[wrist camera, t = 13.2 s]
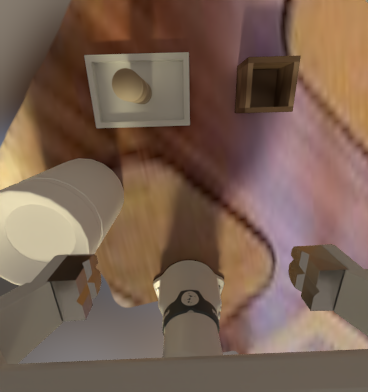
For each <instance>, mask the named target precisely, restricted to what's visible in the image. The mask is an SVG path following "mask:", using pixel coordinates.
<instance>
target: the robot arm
mask: <svg viewBox="0 0 368 392" xmlns="http://www.w3.org/2000/svg"><path fill="white" fill-rule="evenodd" d="M291 256H292V257H293V259H294V260H293V261H292V262H291V263H290V264H289V276H290V280H291V282H292V284H293V285H294V287H295V288H296V289H298V290H299V291H301V292H302V293H301V297H302V299H303V300H304V302H305V303H306V305H307V306H308V308H309V309H310V311H334V312H335V313H336V314H338V315H339V316H341V317H342V318H343V319H345V320H346V321H347V322H349V323H350V324H352V325H353V326H354V327H356V328H357V329H359V330H360V331H361V332H363V333H364V334H365V335H367V336H368V269H363V268H362V267H361V266H359V265H358V264H357V263H356V262H354V261H353V260H352V259H351V258H350V257H348V256H347V255H346V254H345V253H343V252H342V251H341V250H340V249H339V248H337V247H336V246H335V245H332V244H325V245H314V246H295V247H293V249H292V252H291ZM97 264H98V260H97V256H96V255H95V254H70V255H69V254H64V255H56V256H54V257H53V258H52V260H51V261H50V262H49V263H48V264H47V265H46V266H45V267H44V268H43V270H42V271H41V272H40V273H39V274H38V275H37V276H36V277H35V278H34V279H33V281H32V282H31V283H25V284H23V285H21V286H19V287H17V288H16V289H14V290H12V291H10V292H8V293H6V294H4V295H2V296H1V297H0V392H368V349H358V350H334V351H311V352H287V353H263V354H239V355H223V353H222V349H221V344H220V339H219V319H220V311H221V305H222V303H221V292H222V289H223V286H224V279H223V278H222V277H220V276H218V275H216V274H215V273H214V272H213V271H212V270H211V269H210V268H209V267H208V266H207V265H205V264H204V263H201V262H198V261H193V260H185V261H180V262H177V263H175V264H173V265H171V266H170V267H169V268H168V269H167V270H166V271H165V272H164V274H163V275H162V276H160V277H159V278H157V279H156V280H154V282H153V286H154V289H155V292H156V295H157V297H158V307H159V308H160V311H161V313H162V315H163V324H162V326H163V335H164V347H163V358H145V359H121V360H97V361H77V362H76V361H74V362H50V363H28V364H26V363H25V364H18V363H19V362H20V361H21V360H22V359H23V358H25V356H27V355H28V354H29V353H30V352H31V351H32V350H33V349H34V348H35V347H36V346H37V345H39V344H40V343H41V342H42V341H43V340H44V339H45V338H46V337H47V336H49V335H50V334H51V333H52V332H53V331H54V330H55V329H56V328H57V327H58V326H59V325H61V324H62V322H63V321H76V320H86V318H87V316H88V314H89V312H90V310H91V308H92V305H93V304H92V299H93V298H95V297H96V296H97V294H98V292H99V290H100V285H101V274H100V271H99V270H98V269H97V268H96V266H97Z"/></svg>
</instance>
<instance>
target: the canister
mask: <svg viewBox="0 0 368 392" xmlns="http://www.w3.org/2000/svg"><path fill="white" fill-rule="evenodd" d="M123 203H124V190H123V187H122V184H121V182H120V180H119V178H118V177H117V176H116V174H115V173H114V172H113V171H112V170H111V169H110V168H108V167H107V166H106V165H104V164H103V163H100V162H98V161H95V160H93V159H84V158H78V159H74V160H70V161H67V162H65V163H62V164H60V165H58V166H55V167H53V168H51V169H48V170H46V171H44V172H41V173H39V174H37V175H35V176H32V177H30V178H28V179H25V180H23V181H21V182H19V183H17V184H14V185H11V186H9V187H7V188H4V189H2V190H0V277H2V278H4V279H6V280H8V281H9V282H12V283H13V284H16V285H20V286H21V285H23V284H25V283H31V282H32V281H33V279H34V278H35V277H36V276H37V275H38V274H39V273H40V272H41V271H42V270H43V268H44V267H45V266H46V265H47V264H48V263H49V262H50V261H51V260H52V258H53V257H54V256H56V255H64V254H69V255H70V254H95V252H96V249H97V248H98V247H99V245H100V244H101V242H102V241H103V239H104V237H105V236H106V234H107V232H108V231H109V229H110V227H111V226H112V224H113V222H114V221H115V219H116V217H117V216H118V214H119V213H120V211H121V209H122V206H123Z"/></svg>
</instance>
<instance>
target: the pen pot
mask: <svg viewBox="0 0 368 392" xmlns="http://www.w3.org/2000/svg"><path fill="white" fill-rule="evenodd" d="M299 63H300V56H273V57H248V58H247V59H246V60H245V61H243V62H242V63H241V64H240V65H238V66H237V84H236V102H235V113H259V112H292V111H293V104H294V97H295V91H296V84H297V77H298V70H299Z"/></svg>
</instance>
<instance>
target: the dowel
mask: <svg viewBox="0 0 368 392" xmlns="http://www.w3.org/2000/svg"><path fill="white" fill-rule="evenodd" d="M112 88H113V91H114V93H115V94H116V95H117V97H119V98H120V99H122V100H124V101H128V102H133V103H138V104H146V103H147V102H149V101H150V99H151V96H152V90H151V87H150V86H149V84H148V83H146V82H145V81H144V80H143V79H142V78H141V77H140V76H139V75H138V74H137V73H136V72H134V71H133V70H131V69H128V68H122V69H120V70H118V71H117V72H116V73H115V74H114V76H113V78H112Z"/></svg>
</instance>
